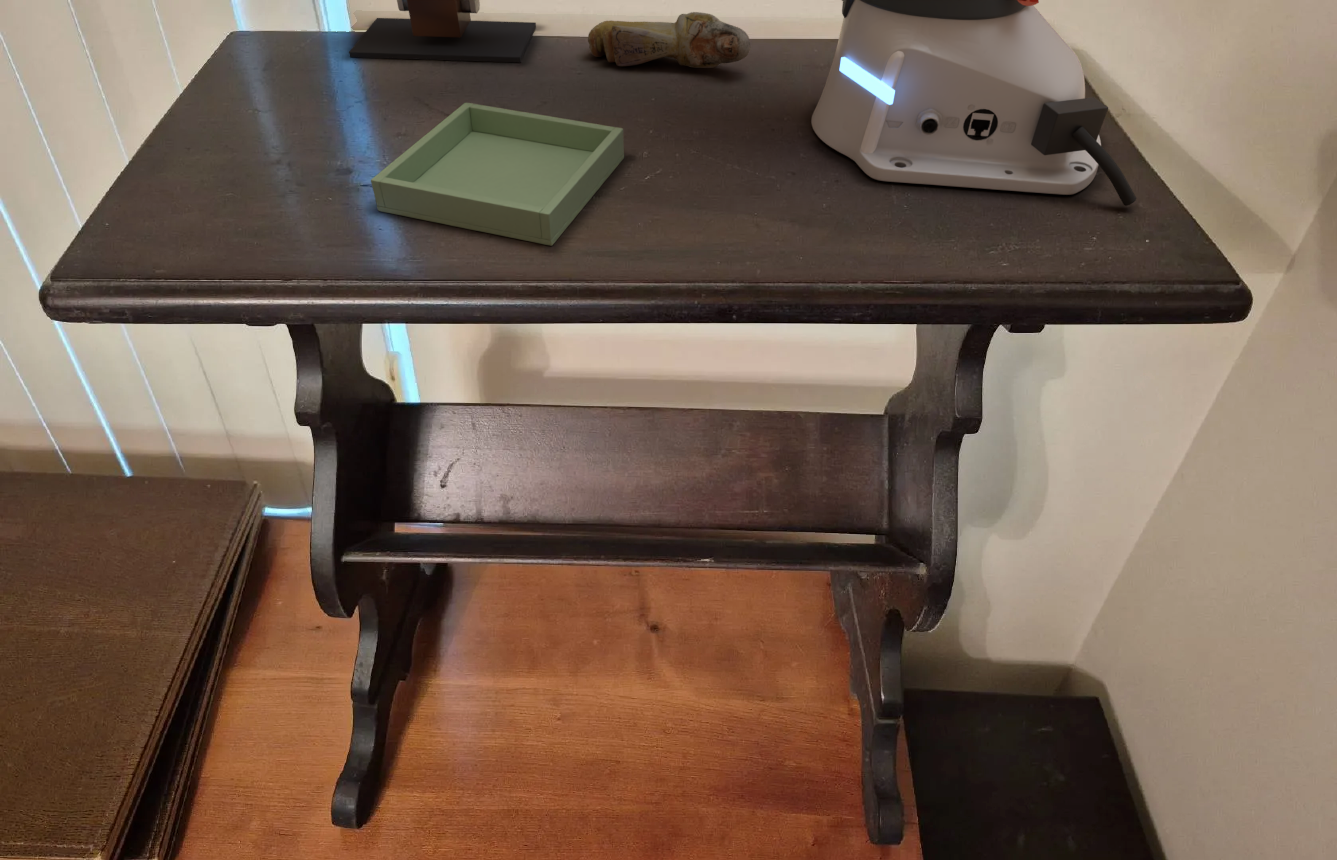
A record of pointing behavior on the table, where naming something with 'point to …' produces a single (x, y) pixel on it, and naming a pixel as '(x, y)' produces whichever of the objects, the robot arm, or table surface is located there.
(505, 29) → the mat
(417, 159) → the tray
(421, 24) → the block
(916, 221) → the table surface
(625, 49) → the figurine
